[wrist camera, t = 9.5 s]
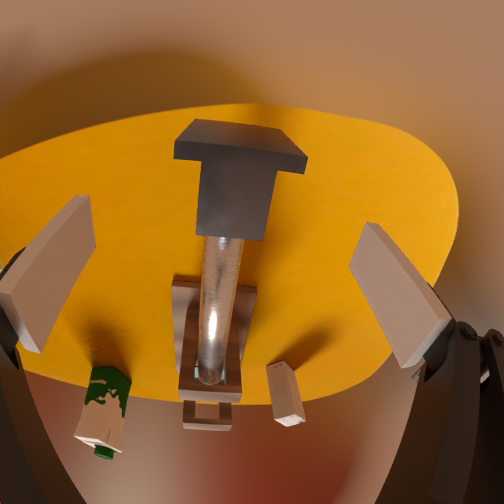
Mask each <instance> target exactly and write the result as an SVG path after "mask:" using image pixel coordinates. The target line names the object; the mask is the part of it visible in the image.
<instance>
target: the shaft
mask: <svg viewBox="0 0 504 504" xmlns="http://www.w3.org/2000/svg"><path fill="white" fill-rule="evenodd" d="M174 159H181V160H194V161H202V163H201V173H200V184H199V196H198V208H197V222H196V235H202V236H205V237H204V249H203V263H202V278H201V295H200V316H199V341H198V378H199V380H200V381H201V382H202V383H204V384H206V385H215V384H217V383H219V382H220V380H221V379H222V373H223V367H224V361H225V354H226V348H227V342H228V336H229V330H230V323H231V317H232V311H233V305H234V299H235V293H236V287H237V281H238V275H239V269H240V263H241V257H242V251H243V245H244V240H255V241H263V236H264V232H265V227H266V222H267V217H268V213H269V208H270V203H271V198H272V193H273V188H274V184H275V179H276V174H277V170H279V171H286V172H292V173H298V174H304V172H305V168H306V164H307V160H308V157H307V156H306V155H305V154H304V153H303V152H302V151H301V150H300V149H299V148H298V147H297V146H296V145H295V144H294V143H293V142H292V141H291V140H290V139H289V138H288V137H287V136H286V135H285V134H284V133H283V132H282V131H281V130H280V129H275V128H268V127H262V126H255V125H248V124H241V123H232V122H224V121H214V120H202V119H195V120H194V121H193V122H192V123H191V124H190V125H189V126H188V127H187V128H186V129H185V130H184V131H183V132H182V133H181V135H180V136H179V137H178V138H177V139H176V140H175V145H174Z"/></svg>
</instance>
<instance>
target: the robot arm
mask: <svg viewBox="0 0 504 504" xmlns="http://www.w3.org/2000/svg"><path fill="white" fill-rule="evenodd" d="M95 247H96V243H95V237H94V230H93V223H92V215H91V206H90V195H75V196H74V197H73V198H72V199H71V200H70V201H69V202H68V203H67V204H66V205H65V206H64V207H63V208H62V209H61V210H60V211H59V212H58V213H57V214H56V215H55V216H54V217H53V218H52V219H51V220H50V221H49V223H48V224H47V225H46V226H45V227H44V228H43V229H42V230H41V231H40V232H39V234H38V235H37V236H36V237H35V238H34V239H33V240H32V241H31V243H30V244H29V245H28V246H27V247H24V248H23V249H22V250H20V251H19V252H18V253H16V254H15V255H14V256H13V258H12V259H11V260H10V261H9V264H7V265H6V266H5V268H4V269H3V271H2V272H1V273H0V502H1V504H86V502H85V500H84V499H83V498H82V496H81V494H80V493H79V491H78V490H77V488H76V487H75V485H74V483H73V482H72V480H71V478H70V477H69V475H68V473H67V472H66V470H65V468H64V466H63V465H62V463H61V461H60V459H59V457H58V455H57V453H56V451H55V449H54V447H53V445H52V443H51V441H50V439H49V437H48V435H47V432H46V430H45V428H44V426H43V423H42V421H41V419H40V416H39V413H38V411H37V409H36V406H35V403H34V400H33V398H32V395H31V392H30V389H29V386H28V383H27V380H26V376H25V373H24V370H23V366H22V363H21V359H20V355H19V352H18V350H17V348H16V346H15V345H16V344H17V342H18V340H20V342H21V343H22V345H23V347H24V348H25V349H26V350H29V351H32V352H36V353H39V354H41V353H42V350H43V348H44V345H45V343H46V341H47V339H48V336H49V334H50V332H51V330H52V327H53V325H54V323H55V321H56V319H57V317H58V315H59V313H60V311H61V309H62V307H63V305H64V303H65V301H66V299H67V297H68V295H69V293H70V291H71V289H72V287H73V285H74V284H75V282H76V280H77V278H78V276H79V275H80V273H81V271H82V269H83V268H84V266H85V264H86V262H87V261H88V259H89V257H90V256H91V254H92V252H93V251H94V249H95ZM349 269H350V270H351V272H352V274H353V276H354V277H355V279H356V281H357V283H358V285H359V286H360V288H361V290H362V292H363V294H364V296H365V297H366V299H367V301H368V303H369V305H370V307H371V309H372V311H373V312H374V314H375V316H376V318H377V320H378V322H379V324H380V326H381V328H382V330H383V332H384V334H385V336H386V338H387V340H388V342H389V344H390V346H391V348H392V350H393V352H394V354H395V356H396V359H397V361H398V363H399V365H400V367H401V368H406V367H410V366H415V364H416V363H417V362H418V361H419V360H420V359H421V357H422V356H423V357H424V359H425V361H426V362H425V363H424V364H423V365H422V366H421V367H420V369H419V370H418V371H417V372H416V373H415V374H414V375H413V376H412V378H411V379H412V380H414V379H415V378H416V377H417V376H418V375H419V379H418V380H417V381H416V382H418V384H417V388H416V392H415V396H414V400H413V404H412V408H411V411H410V415H409V418H408V421H407V424H406V428H405V431H404V434H403V437H402V440H401V443H400V445H399V448H398V451H397V454H396V456H395V459H394V461H393V464H392V467H391V469H390V471H389V474H388V476H387V478H386V481H385V483H384V485H383V487H382V490H381V492H380V494H379V496H378V498H377V500H376V502H375V504H504V337H503V335H502V334H501V333H500V332H499V331H497V330H494V329H490V330H489V331H488V332H487V333H486V335H485V336H484V337H481V336H478V335H477V333H476V331H475V330H474V329H473V328H472V327H471V326H470V325H469V324H467V323H465V322H461V321H460V322H456V321H455V319H454V318H453V316H452V315H451V313H450V312H449V310H448V309H447V307H446V306H445V305H444V303H443V302H442V301H441V300H440V298H439V296H438V295H437V294H435V293H436V292H435V291H434V290H433V288H432V287H431V286H430V284H429V283H427V282H426V281H425V280H424V278H423V277H422V276H421V274H420V273H419V272H418V271H417V269H416V268H415V267H414V266H413V264H412V263H411V262H410V261H409V259H408V258H407V257H406V256H405V254H404V253H403V252H402V251H401V250H400V248H399V247H398V246H397V245H396V244H395V243H394V241H393V240H392V239H391V238H390V237H389V236H388V234H387V233H386V232H385V231H384V230H383V229H382V228H381V226H380V225H379V224H376V223H370V222H366V223H365V226H364V229H363V231H362V234H361V236H360V239H359V242H358V244H357V247H356V249H355V252H354V254H353V257H352V259H351V262H350V264H349ZM488 370H489V374H490V376H489V377H488V378H487V379H486V380H485V381H484V382H483V383H480V378H481V377H482V376H483V375H484V374H485V373H486V372H487V371H488Z"/></svg>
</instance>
